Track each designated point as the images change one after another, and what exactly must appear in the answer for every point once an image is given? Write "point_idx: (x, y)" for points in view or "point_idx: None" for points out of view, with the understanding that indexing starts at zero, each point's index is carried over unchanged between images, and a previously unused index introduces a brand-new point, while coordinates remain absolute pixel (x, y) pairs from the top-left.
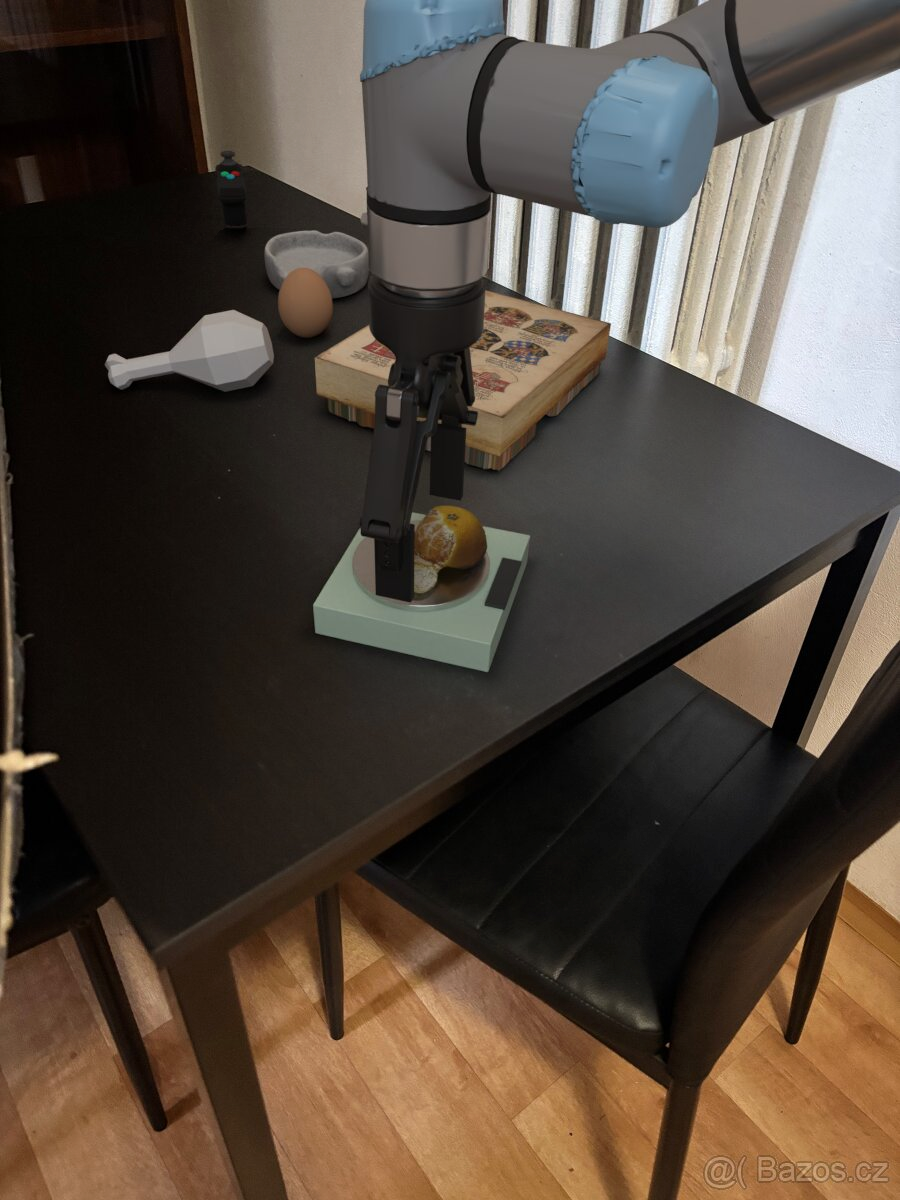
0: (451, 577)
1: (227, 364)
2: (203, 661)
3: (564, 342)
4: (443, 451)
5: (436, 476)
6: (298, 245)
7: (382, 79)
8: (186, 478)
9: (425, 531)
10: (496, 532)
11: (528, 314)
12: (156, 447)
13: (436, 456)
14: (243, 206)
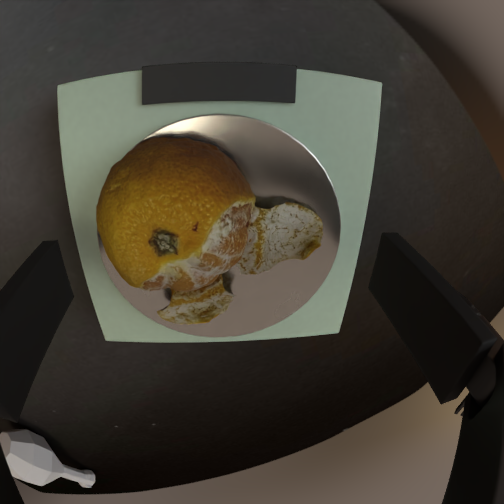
0: (251, 179)
1: (41, 460)
2: (368, 358)
3: None
4: (22, 352)
5: (53, 315)
6: None
7: None
8: (145, 441)
9: (213, 276)
10: (70, 145)
11: None
12: (126, 455)
13: (35, 351)
14: None
